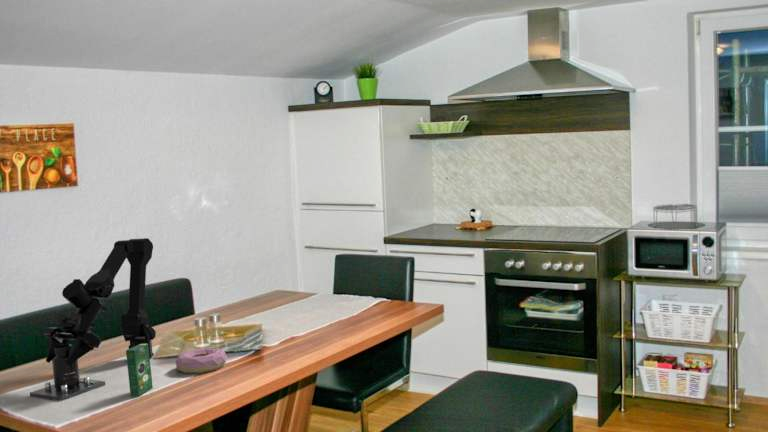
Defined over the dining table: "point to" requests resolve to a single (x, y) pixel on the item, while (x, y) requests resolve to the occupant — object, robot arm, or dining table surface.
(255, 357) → the dining table surface
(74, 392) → the chassis
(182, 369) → the donut
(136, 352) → the coffee box
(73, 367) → the supplement bottle
